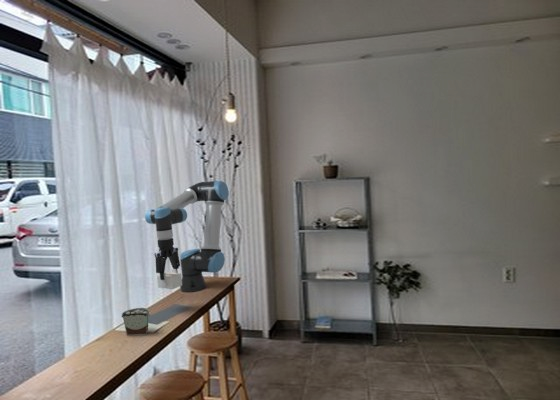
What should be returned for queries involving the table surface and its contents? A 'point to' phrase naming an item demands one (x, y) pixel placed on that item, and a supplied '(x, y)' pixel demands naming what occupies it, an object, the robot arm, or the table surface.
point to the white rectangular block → (171, 280)
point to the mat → (167, 313)
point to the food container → (136, 321)
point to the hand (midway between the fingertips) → (170, 283)
